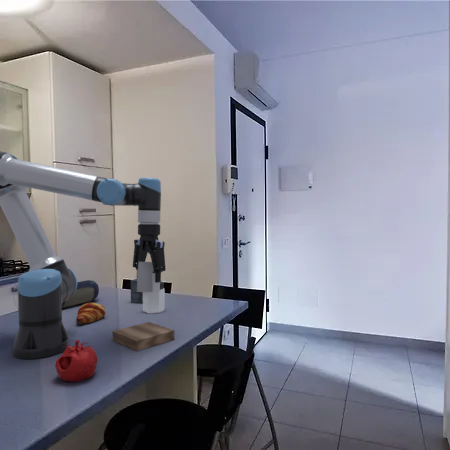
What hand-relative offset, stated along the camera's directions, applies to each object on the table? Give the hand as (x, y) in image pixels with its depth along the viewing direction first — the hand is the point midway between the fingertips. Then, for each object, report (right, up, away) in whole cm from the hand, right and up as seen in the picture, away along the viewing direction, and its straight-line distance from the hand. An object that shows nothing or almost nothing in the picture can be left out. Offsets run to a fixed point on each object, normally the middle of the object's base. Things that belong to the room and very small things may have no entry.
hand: (148, 290), depth 130 cm
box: (-13, -14, +46) cm, 50 cm away
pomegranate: (-11, -16, -35) cm, 40 cm away
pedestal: (0, -15, -8) cm, 17 cm away
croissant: (-25, -15, +18) cm, 34 cm away
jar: (-3, -14, +29) cm, 32 cm away
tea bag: (0, -1, 0) cm, 1 cm away
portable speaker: (-42, -14, +40) cm, 60 cm away
